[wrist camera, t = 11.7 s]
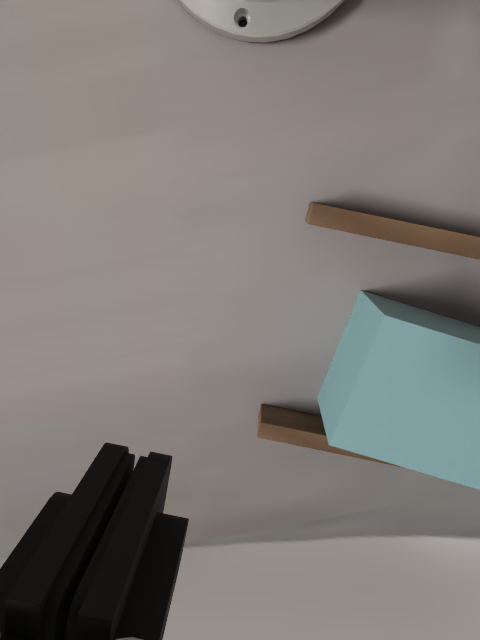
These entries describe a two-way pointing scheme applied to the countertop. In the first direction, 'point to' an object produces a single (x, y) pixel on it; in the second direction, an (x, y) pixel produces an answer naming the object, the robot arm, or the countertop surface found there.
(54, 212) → the countertop surface
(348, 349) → the carton
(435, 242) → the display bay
